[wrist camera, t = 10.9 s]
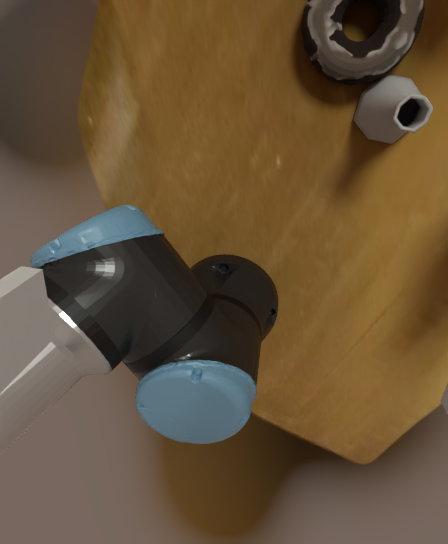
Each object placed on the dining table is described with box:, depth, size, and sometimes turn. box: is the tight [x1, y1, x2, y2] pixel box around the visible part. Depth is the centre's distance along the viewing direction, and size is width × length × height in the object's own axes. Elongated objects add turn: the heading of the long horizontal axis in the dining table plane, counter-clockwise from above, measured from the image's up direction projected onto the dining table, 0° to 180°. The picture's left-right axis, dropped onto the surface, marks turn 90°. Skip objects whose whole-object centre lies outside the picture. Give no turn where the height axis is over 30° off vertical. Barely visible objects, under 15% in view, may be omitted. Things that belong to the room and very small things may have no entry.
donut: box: [302, 0, 425, 85], centre depth 37 cm, size 12×12×4 cm
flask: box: [353, 73, 433, 144], centre depth 37 cm, size 7×7×10 cm
